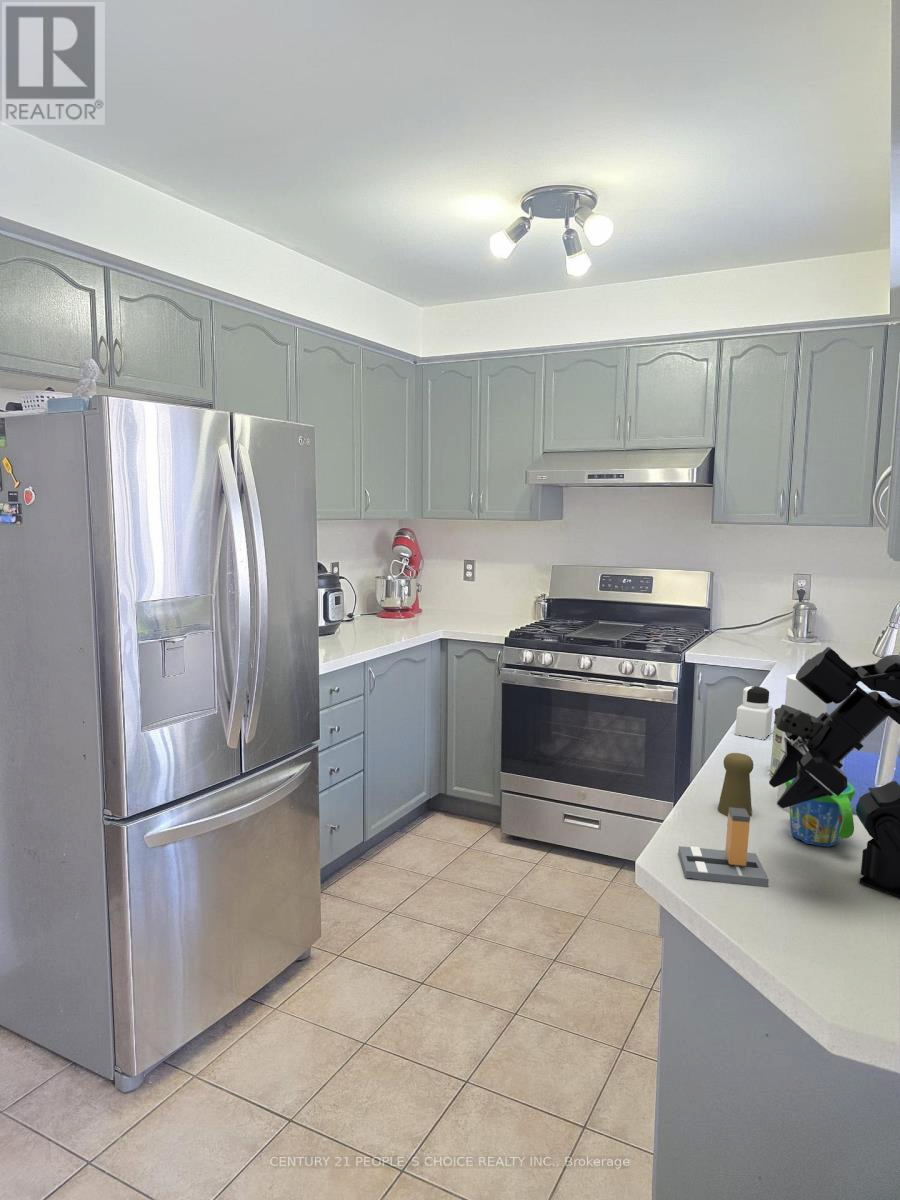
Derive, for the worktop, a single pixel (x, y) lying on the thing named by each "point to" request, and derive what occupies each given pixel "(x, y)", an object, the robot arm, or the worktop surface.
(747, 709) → the medicine bottle
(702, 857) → the fader console
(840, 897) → the worktop surface
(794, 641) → the worktop surface
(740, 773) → the cork
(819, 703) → the cylindrical container
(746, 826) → the fader tab
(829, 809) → the snack cup
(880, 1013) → the worktop surface
